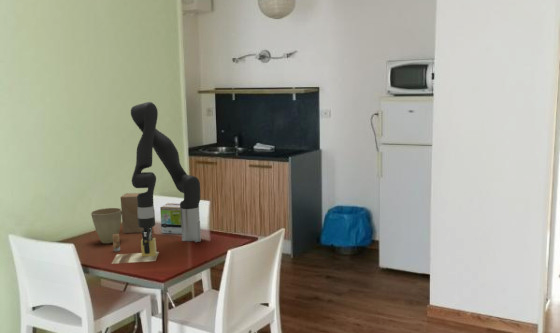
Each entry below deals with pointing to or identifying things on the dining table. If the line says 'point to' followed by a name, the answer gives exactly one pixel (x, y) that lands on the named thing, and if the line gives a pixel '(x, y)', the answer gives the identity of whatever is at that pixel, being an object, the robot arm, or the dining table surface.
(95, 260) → the dining table surface
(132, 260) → the panel
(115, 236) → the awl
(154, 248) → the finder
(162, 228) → the tea box
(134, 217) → the wooden block
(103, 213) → the plant pot
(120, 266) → the dining table surface
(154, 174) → the robot arm
